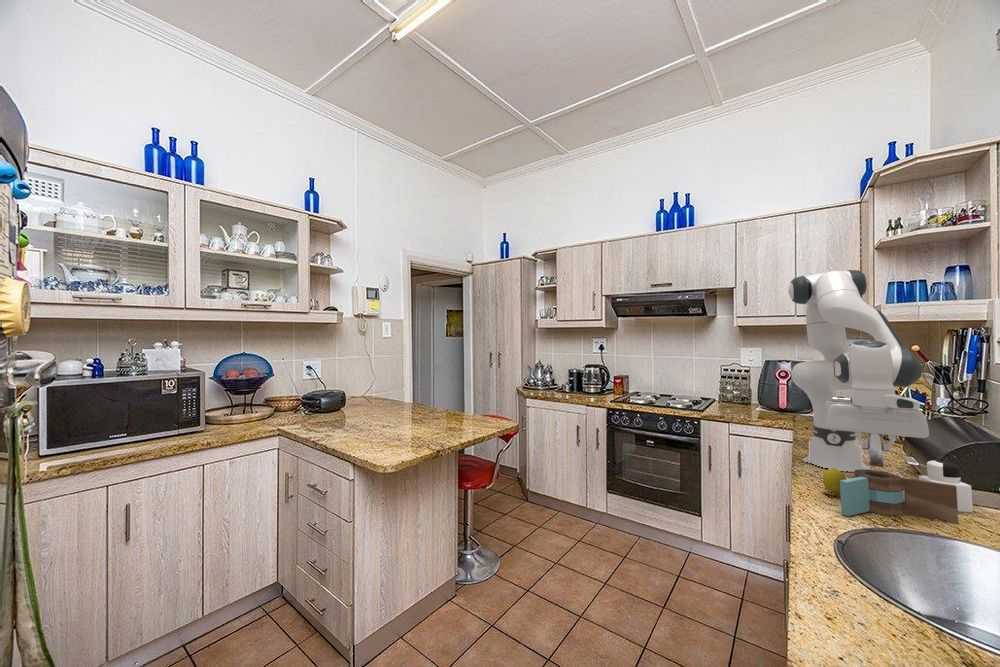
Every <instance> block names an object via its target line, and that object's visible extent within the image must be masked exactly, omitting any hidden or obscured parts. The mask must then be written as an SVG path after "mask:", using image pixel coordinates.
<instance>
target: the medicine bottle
mask: <svg viewBox="0 0 1000 667" xmlns="http://www.w3.org/2000/svg"><path fill="white" fill-rule="evenodd" d="M926 471H927V472H926V473H927V475H918V480H923V481H929V482H936V483H943V484H950V485H955V486H956V489H957V506H958V513H959V512H961V513H962V512H963V513H970V514H971V513H973V512H974V509H973V508H974V507H973V495H972V493H973V491H972V485H970V484H967V483H966V482H962V481H961V478H962V477H961V467H960V466H959V465H958V464H956V463H954V462H949V461H945V460H930V461H927V462H926Z"/></svg>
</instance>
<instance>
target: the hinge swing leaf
mask: <svg viewBox="0 0 1000 667" xmlns="http://www.w3.org/2000/svg"><path fill="white" fill-rule="evenodd" d="M869 500H872V501H876V502H883V503H892V504H897V503H901V502H904V501H905V500H904V490H902V491H891V492H889V491H882V490H876V489H870V488H869V483H868V478H866V477H862V476H861V477H856V478H855V477H852V478H851V477H850V478H846V480H840V514H841V515H843V516H846V517H851V516H855V515H859V514H863V513H869V511H870V502H869Z"/></svg>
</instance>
